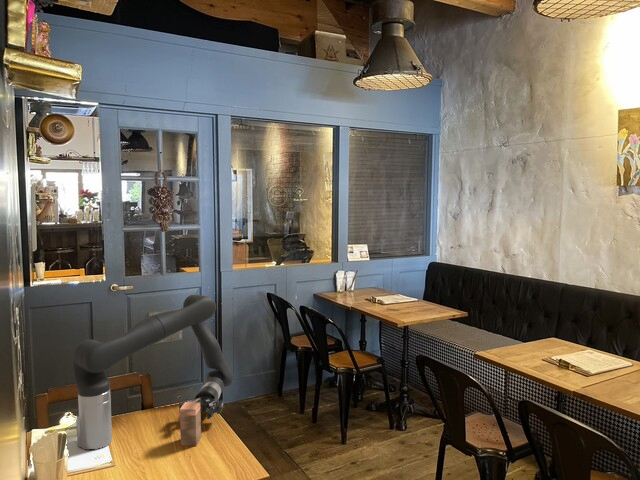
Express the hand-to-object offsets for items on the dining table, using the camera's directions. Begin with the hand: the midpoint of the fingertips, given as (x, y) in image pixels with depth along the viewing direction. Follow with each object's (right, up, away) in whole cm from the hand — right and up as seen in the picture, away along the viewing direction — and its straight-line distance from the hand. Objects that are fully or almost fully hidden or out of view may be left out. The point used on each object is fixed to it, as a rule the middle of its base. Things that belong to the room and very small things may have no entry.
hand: (195, 416), depth 160 cm
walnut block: (0, -7, -5) cm, 8 cm away
